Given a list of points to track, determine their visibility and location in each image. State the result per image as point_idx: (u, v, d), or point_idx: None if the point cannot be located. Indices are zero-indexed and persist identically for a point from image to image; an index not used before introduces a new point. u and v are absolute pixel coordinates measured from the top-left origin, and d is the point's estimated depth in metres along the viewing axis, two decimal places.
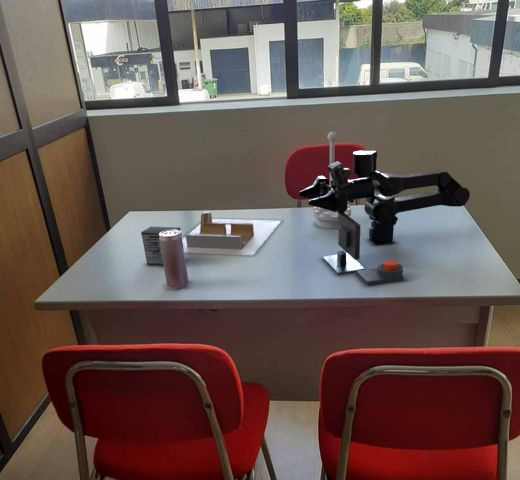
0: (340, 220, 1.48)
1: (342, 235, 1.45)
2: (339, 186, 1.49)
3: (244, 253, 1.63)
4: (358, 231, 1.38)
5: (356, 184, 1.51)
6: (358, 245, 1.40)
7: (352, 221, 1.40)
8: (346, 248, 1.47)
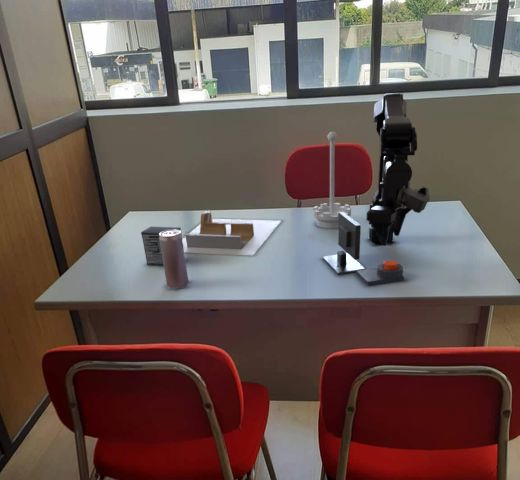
0: (340, 220, 1.48)
1: (342, 235, 1.45)
2: None
3: (244, 253, 1.63)
4: (358, 231, 1.38)
5: None
6: (358, 245, 1.40)
7: (352, 221, 1.40)
8: (346, 248, 1.47)
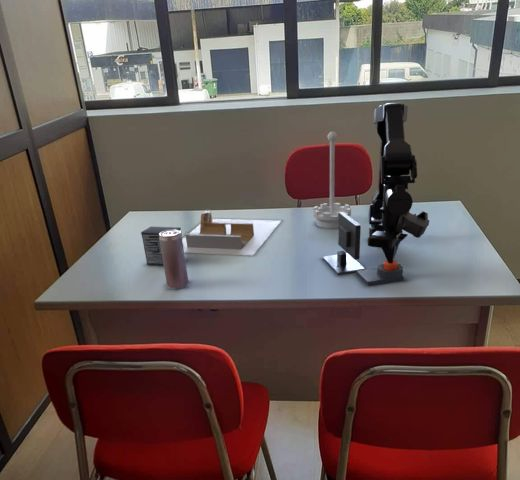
0: (340, 220, 1.48)
1: (342, 235, 1.45)
2: None
3: (244, 253, 1.63)
4: (358, 231, 1.38)
5: None
6: (358, 245, 1.40)
7: (352, 221, 1.40)
8: (346, 248, 1.47)
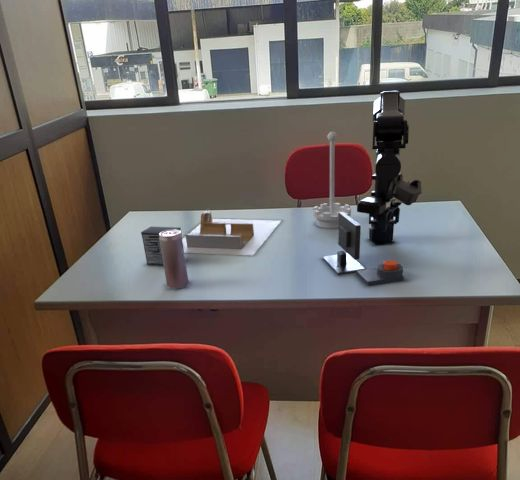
0: (340, 220, 1.48)
1: (342, 235, 1.45)
2: None
3: (244, 253, 1.63)
4: (358, 231, 1.38)
5: None
6: (358, 245, 1.40)
7: (352, 221, 1.40)
8: (346, 248, 1.47)
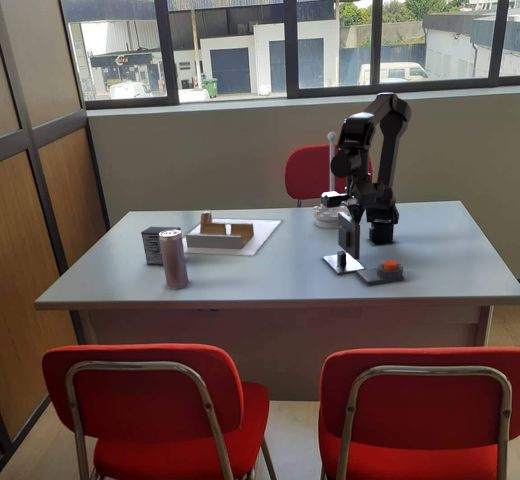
0: (339, 220, 1.48)
1: (342, 235, 1.45)
2: None
3: (244, 253, 1.63)
4: (358, 231, 1.38)
5: (367, 169, 1.35)
6: (358, 245, 1.40)
7: (352, 221, 1.40)
8: (346, 248, 1.47)
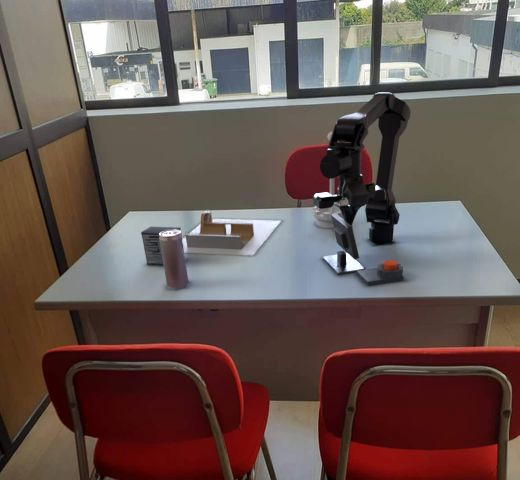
0: (334, 222, 1.48)
1: (338, 237, 1.45)
2: None
3: (244, 253, 1.63)
4: (351, 232, 1.38)
5: (359, 170, 1.35)
6: (355, 245, 1.40)
7: (344, 223, 1.40)
8: (345, 248, 1.47)
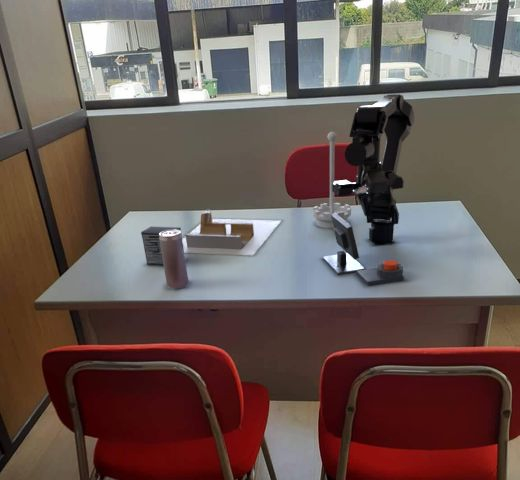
0: (333, 222, 1.48)
1: (338, 237, 1.45)
2: None
3: (244, 253, 1.63)
4: (351, 232, 1.38)
5: (378, 158, 1.37)
6: (354, 245, 1.40)
7: (344, 223, 1.40)
8: (345, 248, 1.47)
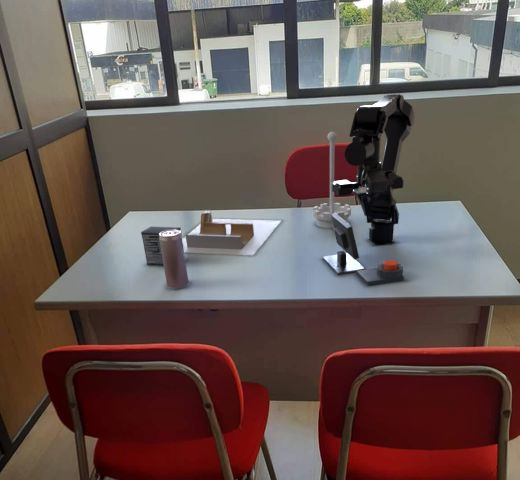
0: (333, 222, 1.48)
1: (338, 237, 1.45)
2: None
3: (244, 253, 1.63)
4: (351, 232, 1.38)
5: (378, 158, 1.37)
6: (354, 245, 1.40)
7: (344, 223, 1.40)
8: (345, 248, 1.47)
